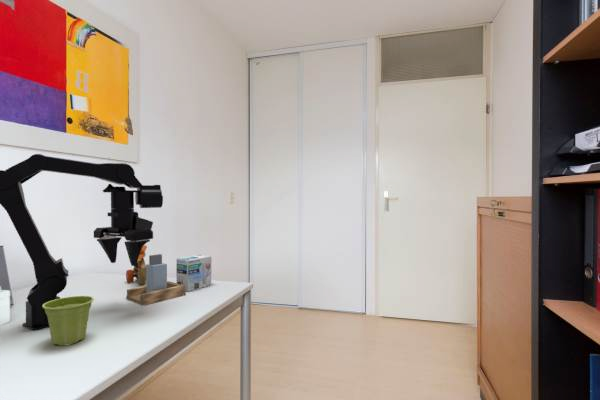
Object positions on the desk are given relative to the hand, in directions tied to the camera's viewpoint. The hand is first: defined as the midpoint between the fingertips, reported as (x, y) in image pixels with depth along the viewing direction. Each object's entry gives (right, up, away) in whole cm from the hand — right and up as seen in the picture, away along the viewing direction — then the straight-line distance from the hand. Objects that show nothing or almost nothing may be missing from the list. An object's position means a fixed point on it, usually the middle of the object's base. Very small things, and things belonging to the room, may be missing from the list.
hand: (123, 264), depth 94 cm
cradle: (+4, -13, +13) cm, 19 cm away
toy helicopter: (-9, -13, +30) cm, 34 cm away
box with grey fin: (+4, -12, +13) cm, 18 cm away
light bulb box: (+12, -13, +25) cm, 31 cm away
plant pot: (-2, -13, -20) cm, 24 cm away
